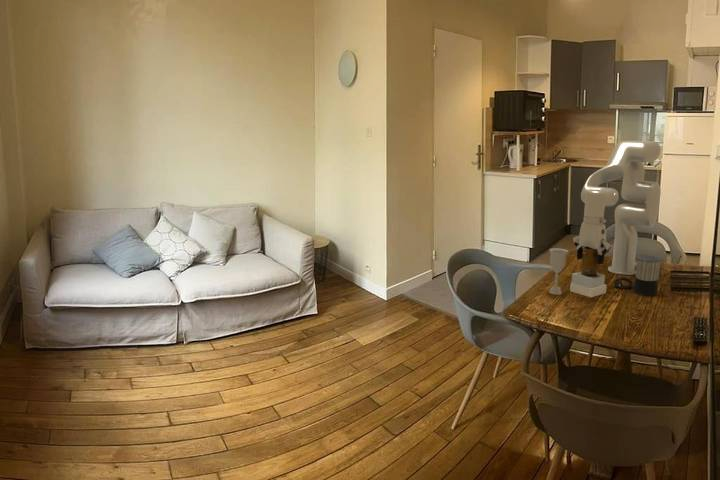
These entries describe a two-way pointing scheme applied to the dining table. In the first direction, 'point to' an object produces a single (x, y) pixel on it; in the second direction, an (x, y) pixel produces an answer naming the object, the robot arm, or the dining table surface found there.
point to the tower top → (587, 280)
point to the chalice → (557, 266)
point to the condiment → (589, 263)
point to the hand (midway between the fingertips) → (589, 261)
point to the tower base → (588, 290)
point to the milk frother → (643, 276)
